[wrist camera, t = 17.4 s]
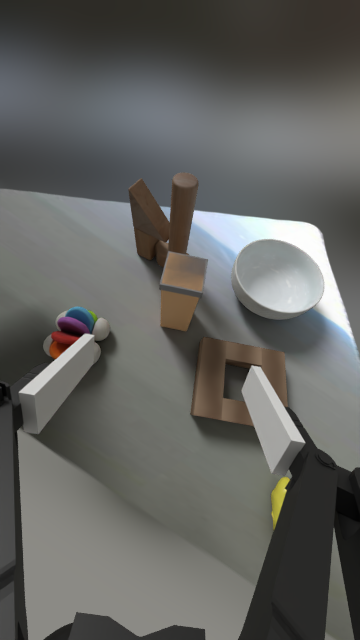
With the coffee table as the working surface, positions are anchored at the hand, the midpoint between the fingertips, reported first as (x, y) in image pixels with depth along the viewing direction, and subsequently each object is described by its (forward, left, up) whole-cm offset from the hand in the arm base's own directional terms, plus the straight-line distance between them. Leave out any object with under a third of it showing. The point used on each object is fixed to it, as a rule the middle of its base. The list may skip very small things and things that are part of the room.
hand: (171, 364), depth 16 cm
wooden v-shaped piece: (+1, +26, -18) cm, 32 cm away
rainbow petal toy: (-14, +9, -18) cm, 24 cm away
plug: (+3, +12, -18) cm, 22 cm away
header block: (+12, -1, -18) cm, 21 cm away
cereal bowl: (+22, +17, -18) cm, 33 cm away
